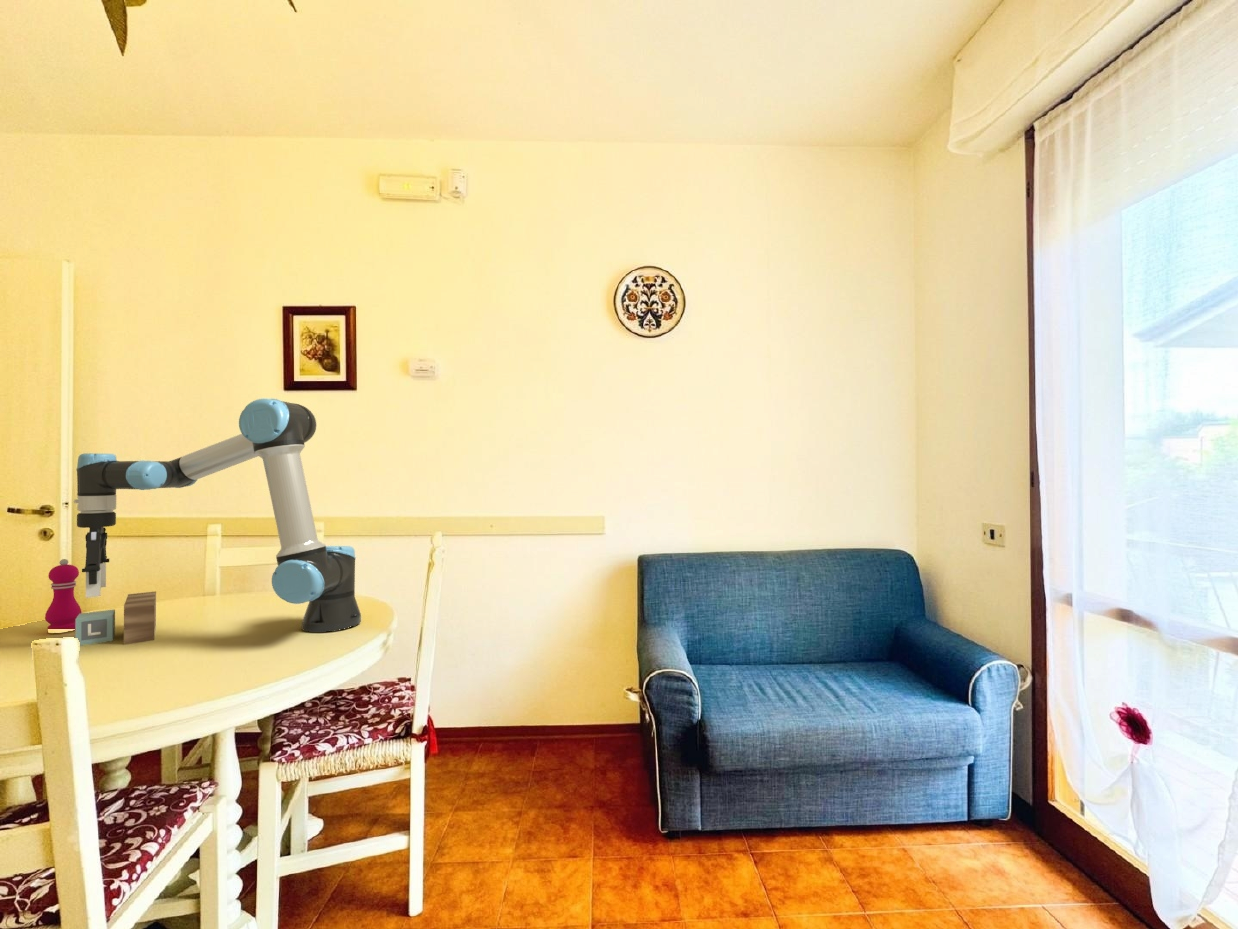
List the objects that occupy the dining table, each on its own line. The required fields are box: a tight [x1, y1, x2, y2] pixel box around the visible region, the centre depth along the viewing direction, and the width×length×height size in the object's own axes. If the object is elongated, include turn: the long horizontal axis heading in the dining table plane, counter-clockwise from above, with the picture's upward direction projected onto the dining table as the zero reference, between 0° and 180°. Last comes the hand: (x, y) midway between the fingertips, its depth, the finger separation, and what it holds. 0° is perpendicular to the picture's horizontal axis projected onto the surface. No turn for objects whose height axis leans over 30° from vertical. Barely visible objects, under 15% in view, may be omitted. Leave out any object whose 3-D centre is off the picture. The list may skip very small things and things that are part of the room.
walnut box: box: [123, 591, 157, 645], centre depth 151 cm, size 16×6×10 cm, turn 39°
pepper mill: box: [44, 558, 82, 629], centre depth 154 cm, size 7×7×20 cm
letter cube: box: [74, 608, 116, 647], centre depth 146 cm, size 7×7×7 cm
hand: (96, 592), depth 146 cm, fingers open, 13 cm apart
